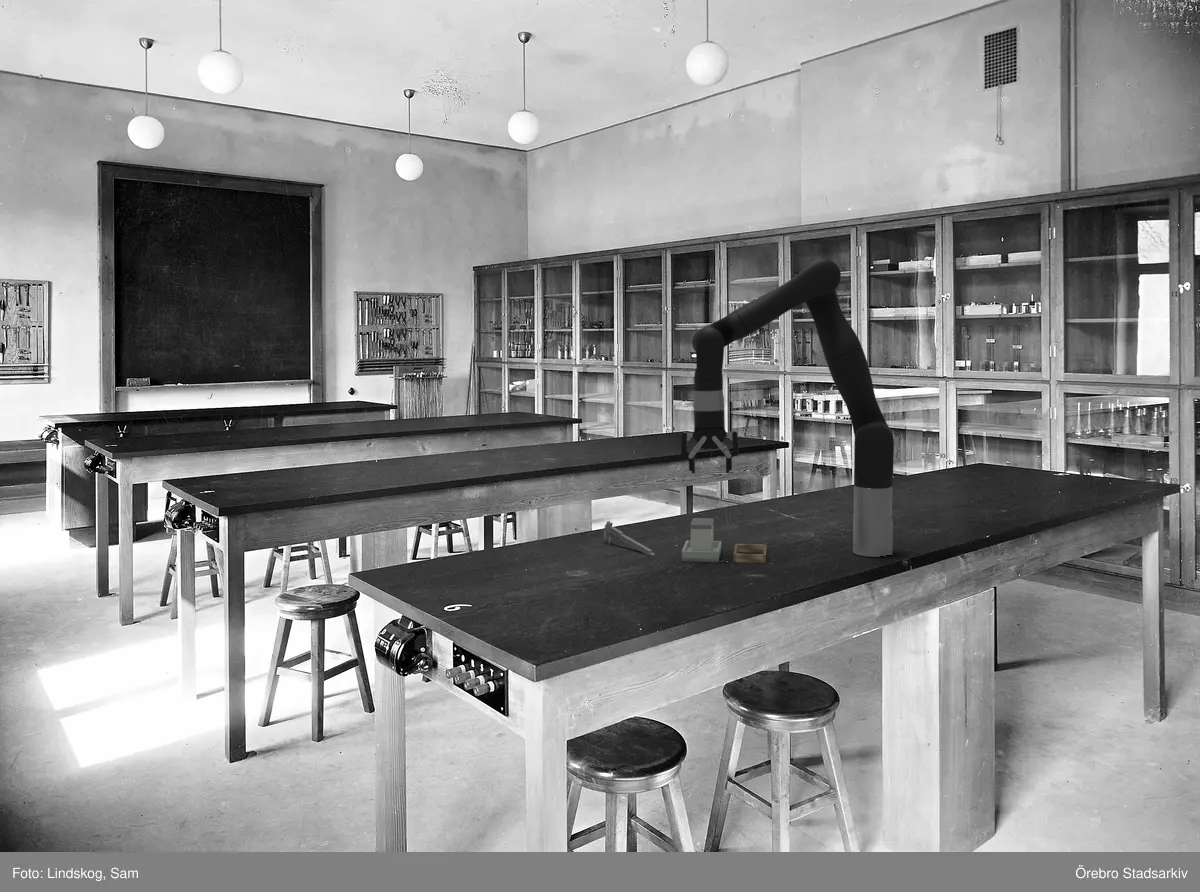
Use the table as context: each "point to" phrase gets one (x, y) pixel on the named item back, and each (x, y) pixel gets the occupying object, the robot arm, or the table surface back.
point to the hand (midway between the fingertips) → (710, 472)
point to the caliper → (623, 539)
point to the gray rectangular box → (702, 534)
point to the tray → (701, 553)
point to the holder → (750, 557)
